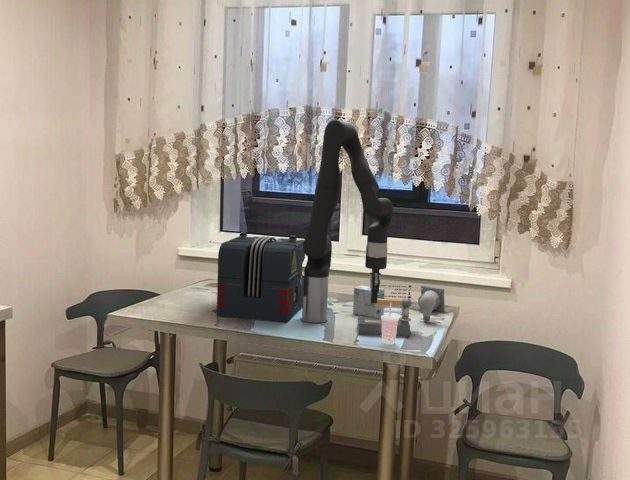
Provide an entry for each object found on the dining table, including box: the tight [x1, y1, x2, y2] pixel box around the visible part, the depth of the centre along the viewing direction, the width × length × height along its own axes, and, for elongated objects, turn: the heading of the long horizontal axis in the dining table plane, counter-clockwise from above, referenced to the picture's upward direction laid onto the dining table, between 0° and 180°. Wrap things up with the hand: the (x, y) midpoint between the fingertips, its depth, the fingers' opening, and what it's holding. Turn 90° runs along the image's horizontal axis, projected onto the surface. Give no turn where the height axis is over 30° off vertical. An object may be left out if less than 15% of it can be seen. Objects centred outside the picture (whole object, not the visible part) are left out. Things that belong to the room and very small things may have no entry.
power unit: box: [216, 231, 306, 324], centre depth 264 cm, size 28×28×30 cm
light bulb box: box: [352, 285, 386, 317], centre depth 267 cm, size 11×7×11 cm, turn 56°
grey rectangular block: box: [356, 306, 412, 338], centre depth 242 cm, size 19×10×9 cm, turn 89°
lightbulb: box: [419, 294, 436, 323], centre depth 259 cm, size 6×6×11 cm
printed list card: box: [380, 284, 446, 312], centre depth 278 cm, size 27×11×10 cm, turn 90°
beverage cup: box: [380, 302, 400, 345], centre depth 229 cm, size 6×6×14 cm
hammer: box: [370, 298, 412, 307], centre depth 244 cm, size 15×4×2 cm, turn 89°
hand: (373, 302), depth 240 cm, fingers closed
